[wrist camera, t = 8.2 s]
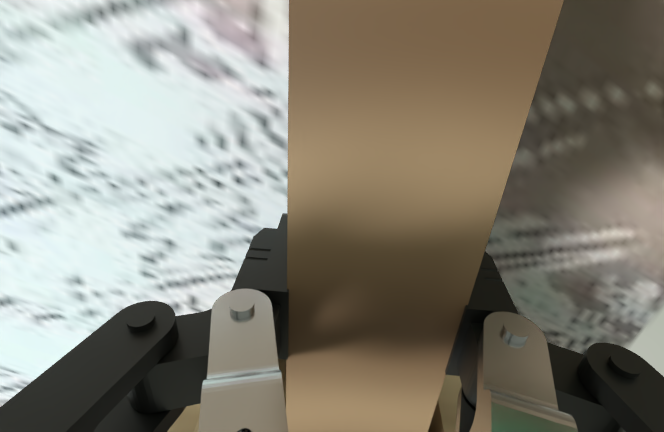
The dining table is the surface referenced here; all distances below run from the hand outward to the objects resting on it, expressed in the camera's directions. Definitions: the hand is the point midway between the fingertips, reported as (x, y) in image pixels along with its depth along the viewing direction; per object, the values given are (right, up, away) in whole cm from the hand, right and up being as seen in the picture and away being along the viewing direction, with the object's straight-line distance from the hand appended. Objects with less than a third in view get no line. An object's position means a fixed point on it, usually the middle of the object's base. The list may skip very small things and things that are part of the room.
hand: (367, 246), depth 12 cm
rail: (0, 0, 0) cm, 1 cm away
